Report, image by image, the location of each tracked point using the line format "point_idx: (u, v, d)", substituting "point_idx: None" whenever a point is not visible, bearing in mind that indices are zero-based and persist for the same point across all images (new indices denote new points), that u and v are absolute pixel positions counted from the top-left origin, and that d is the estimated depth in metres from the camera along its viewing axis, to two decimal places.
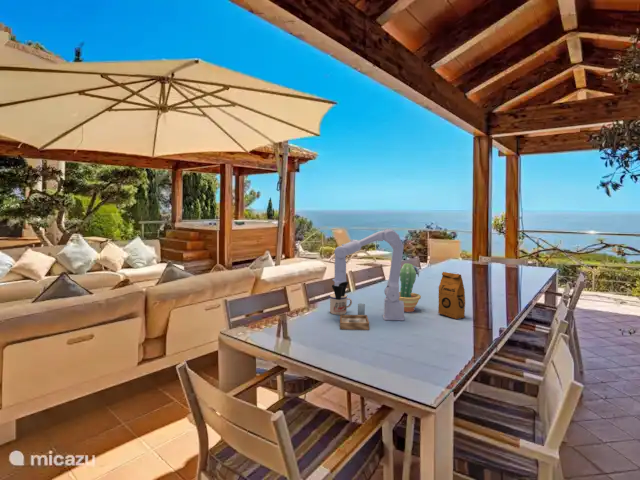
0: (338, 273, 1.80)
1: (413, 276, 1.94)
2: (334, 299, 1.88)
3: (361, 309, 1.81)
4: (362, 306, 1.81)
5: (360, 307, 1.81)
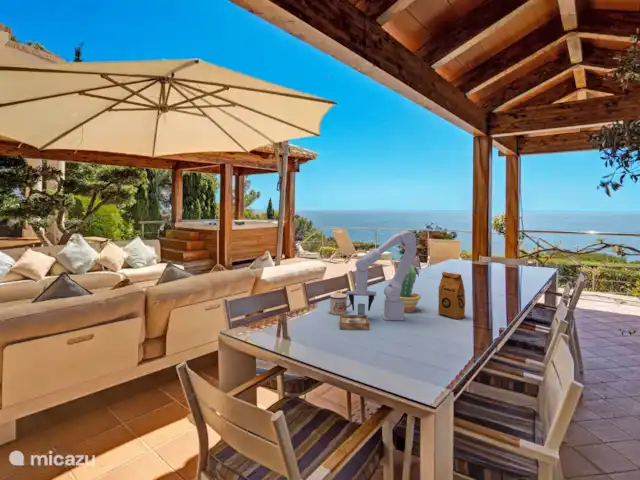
0: None
1: (413, 276, 1.94)
2: (334, 299, 1.88)
3: (361, 309, 1.81)
4: (362, 306, 1.81)
5: (360, 307, 1.81)
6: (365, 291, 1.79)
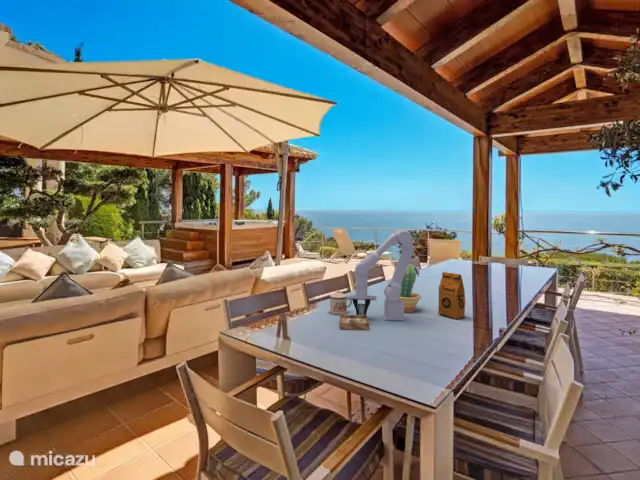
0: None
1: (413, 276, 1.94)
2: (334, 299, 1.88)
3: (361, 309, 1.81)
4: (362, 306, 1.81)
5: (360, 307, 1.81)
6: (365, 295, 1.80)
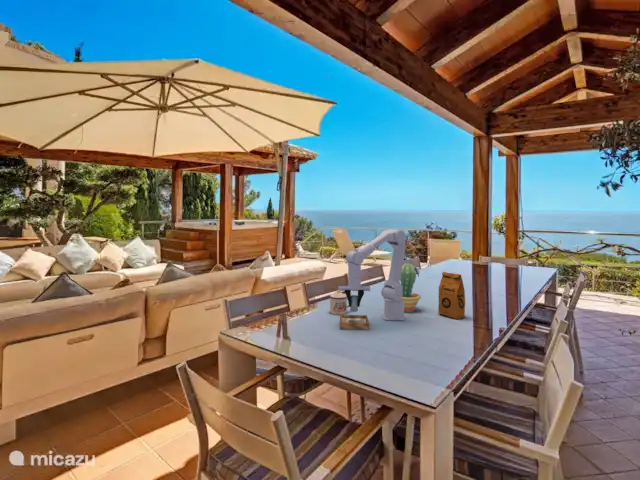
0: (348, 279, 1.70)
1: (413, 276, 1.94)
2: (334, 299, 1.88)
3: (354, 301, 1.69)
4: (355, 297, 1.69)
5: (353, 299, 1.69)
6: (358, 286, 1.68)
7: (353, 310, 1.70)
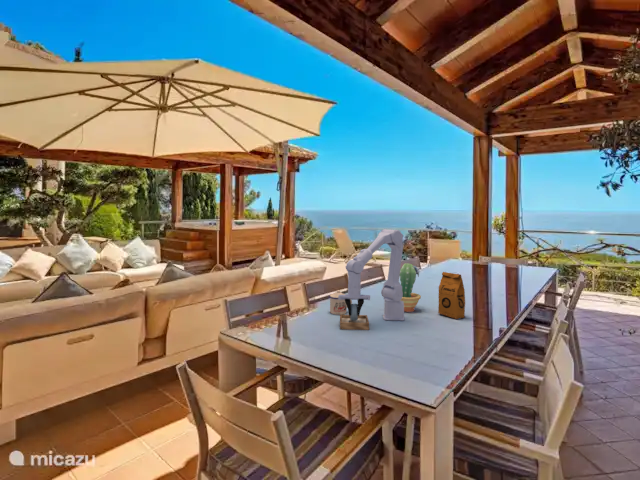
0: (348, 287, 1.70)
1: (413, 276, 1.94)
2: (334, 299, 1.88)
3: (354, 309, 1.70)
4: (355, 306, 1.70)
5: (353, 307, 1.70)
6: (358, 295, 1.68)
7: (353, 319, 1.70)
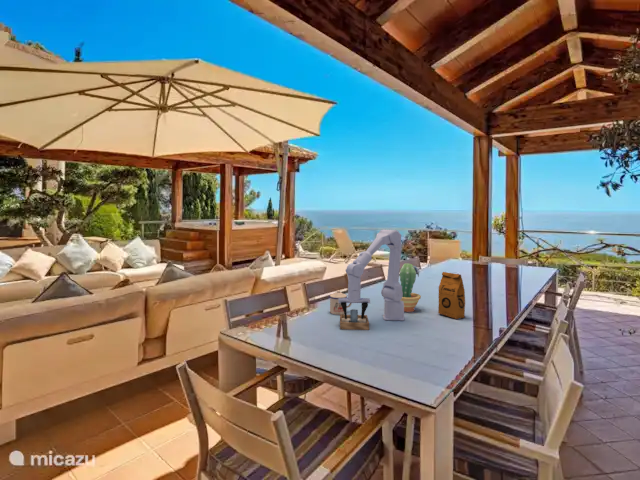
0: (348, 291, 1.70)
1: (413, 276, 1.94)
2: (334, 299, 1.88)
3: (354, 315, 1.70)
4: (355, 312, 1.70)
5: (353, 313, 1.70)
6: (358, 298, 1.68)
7: None
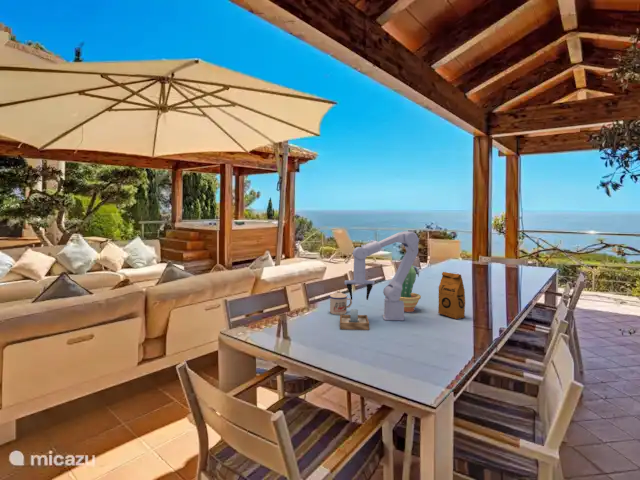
0: None
1: (413, 276, 1.94)
2: (334, 299, 1.88)
3: (354, 315, 1.70)
4: (355, 312, 1.70)
5: (353, 313, 1.70)
6: (363, 280, 1.77)
7: None
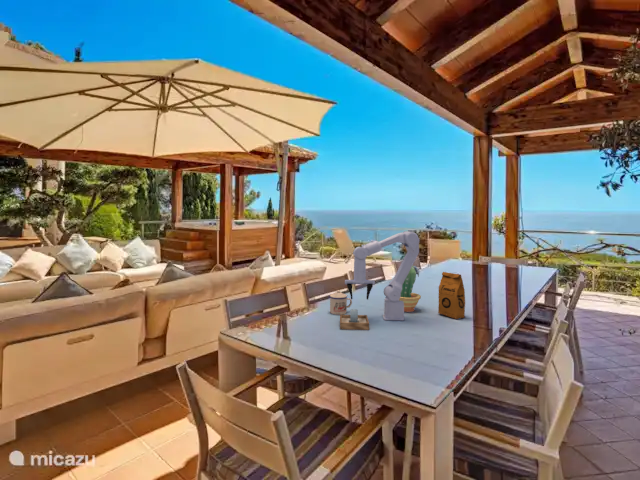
0: (354, 273, 1.80)
1: (413, 276, 1.94)
2: (334, 299, 1.88)
3: (354, 315, 1.70)
4: (355, 312, 1.70)
5: (353, 313, 1.70)
6: (363, 280, 1.78)
7: None
